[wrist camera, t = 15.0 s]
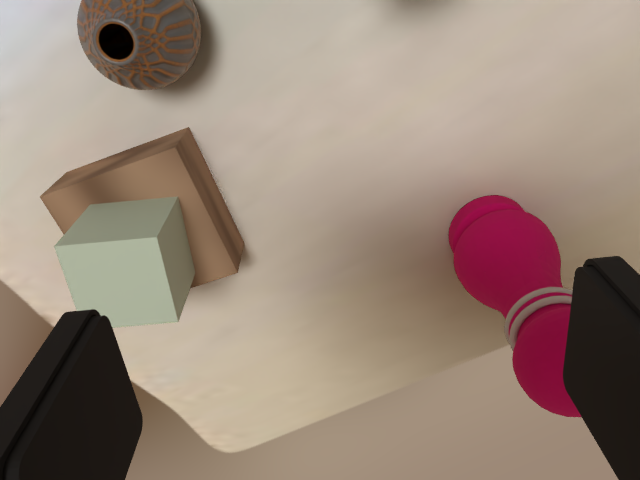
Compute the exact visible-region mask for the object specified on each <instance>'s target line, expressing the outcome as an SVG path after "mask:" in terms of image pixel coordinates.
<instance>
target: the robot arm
mask: <svg viewBox="0 0 640 480" xmlns="http://www.w3.org/2000/svg"><path fill="white" fill-rule="evenodd" d="M563 381H564V386H565V389H566V391H567V393H568V395H569V396H570V398H571V400H572V401H573V403H574V405H575V406H576V408H577V410H578V411H579V413H580V415H581V417H582V418H583V420H584V421H585V423H586V425H587V427H588V428H589V430H590V432H591V433H592V435H593V436H594V439H595V440H596V442H597V444H598V445H599V447H600V448H601V450H602V452H603V454H604V455H605V457H606V459H607V460H608V462H609V464H610V466H611V467H612V469H613V471H614V472H615V474H616V476H617V477H618V479H619V480H640V275H639V274H638V273H637V272H636V271H635V270H634V269H633V268H632V267H631V266H630V265H629V264H628V263H627V262H626V261H625V260H624V259H622V258H621V257H619V256H612V257H603V258H593V259H588V260H586V261H585V263H584V265H583V267H579V268H577V269H576V271H575V276H574V284H573V292H572V301H571V309H570V317H569V325H568V334H567V342H566V350H565V358H564V366H563ZM141 431H142V414H141V410H140V408H139V404H138V402H137V399H136V396H135V393H134V390H133V387H132V384H131V381H130V378H129V375H128V372H127V369H126V367H125V364H124V361H123V358H122V355H121V352H120V349H119V346H118V343H117V340H116V337H115V335H114V332H113V329H112V326H111V323H110V320H109V318H108V317H107V316H105V315H103V316H101V315H100V313H99V312H98V311H97V310H95V309H91V310H82V311H72V312H66V313H64V314H63V315H62V317H61V318H60V320H59V321H58V322H57V324H56V325H55V327H54V328H53V330H52V332H51V333H50V335H49V336H48V338H47V339H46V340H45V342H44V343H43V345H42V346H41V348H40V349H39V351H38V352H37V354H36V355H35V357H34V358H33V360H32V361H31V363H30V364H29V365H28V367H27V368H26V370H25V372H24V373H23V375H22V376H21V377H20V379H19V381H18V382H17V383H16V385H15V386H14V388H13V389H12V391H11V392H10V394H9V395H8V397H7V398H6V400H5V401H4V403H3V404H2V406H1V407H0V480H125V478H126V475H127V472H128V469H129V466H130V463H131V460H132V457H133V454H134V451H135V449H136V446H137V443H138V440H139V437H140V434H141Z"/></svg>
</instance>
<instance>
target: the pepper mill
mask: <svg viewBox="0 0 640 480" xmlns="http://www.w3.org/2000/svg"><path fill="white" fill-rule="evenodd" d="M449 244H450V246H451V249H452V251H453V253H454V267H455V271H456V274H457V276H458V279H459V280H460V282H461V283H462V285H463V286H464V288H465V289H466V290H467V291H468V292H469V293H470V294H471V295H472V296H473V297H474V298H475V299H477V300H478V301H480V302H481V303H483V304H484V305H486V306H489V307H491V308H493V309H495V310H498V311H500V312H501V313H502V314H503V316H504V317H505V319H506V320H505V326H504V331H505V335H506V338H507V341H508V342H509V344H510V345H511V348H512V350H513V368H514V372H515V374H516V377H517V379H518V382H519V384H520V385H521V387H522V388H523V390H524V391H525V392H526V394H527V395H528V396H529V397H530V398H531V399H532V400H533V401H534V402H536V403H537V404H538V405H539V406H541V407H542V408H544V409H546V410H548V411H550V412H552V413H555V414H559V415H562V416H566V417H581V415H580V413H579V411H578V410H577V408H576V406H575V405H574V403H573V401H572V400H571V398H570V396H569V395H568V393H567V391H566V389H565V386H564V381H563V366H564V358H565V350H566V342H567V334H568V325H569V317H570V309H571V301H572V292H573V291H572V290H570V289H567V288H563V286H562V284H561V276H560V267H561V260H560V254H559V250H558V246H557V243H556V241H555V239H554V237H553V235H552V233H551V232H550V230H549V229H548V227H547V226H546V225H545V224H544V223H543V222H542V221H541V220H540V219H538V218H537V217H535V216H533V215H532V214H530V213H527V212H525V211H524V210H523V209H522V208H521V206H520V205H519V204H518V203H516V202H515V201H513V200H512V199H509V198H507V197H503V196H498V195H491V196H484V197H480V198H477V199H475V200H473V201H471V202H469V203H468V204H466V205H465V206H464V207H463V208H461V209H460V210H459V212H458V213H457V214H456V215H455V217H454V219H453V220H452V222H451V225H450V228H449Z"/></svg>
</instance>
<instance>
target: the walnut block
mask: <svg viewBox="0 0 640 480" xmlns="http://www.w3.org/2000/svg"><path fill="white" fill-rule="evenodd" d="M167 197H178V198H179V203H180V207H181V212H182V216H183V220H184V225H185V229H186V234H187V238H188V243H189V247H190V251H191V256H192V260H193V265H194V269H195V275H194V278H193V281H192V284H191V287H190V288H192V287H195V286H198V285H202V284H205V283H208V282H211V281H214V280H217V279H220V278H223V277H226V276H229V275H232V274H235V273H238V269H239V264H240V260H241V255H242V251H243V246H244V242H243V239H242V237H241V235H240V233H239V231H238V229H237V227H236V225H235V223H234V221H233V219H232V216H231V214H230V212H229V210H228V208H227V206H226V204H225V202H224V200H223V198H222V195H221V193H220V191H219V189H218V187H217V185H216V183H215V181H214V179H213V177H212V175H211V172H210V170H209V168H208V166H207V164H206V162H205V160H204V158H203V156H202V154H201V152H200V149H199V147H198V145H197V143H196V141H195V139H194V137H193V135H192V133H191V131H190V128H189V127H188V128H185V129H183V130H180V131H177V132H174V133H172V134H169V135H166V136H164V137H161V138H158V139H155V140H153V141H150V142H147V143H145V144H142V145H139V146H137V147H134V148H131V149H128V150H126V151H123V152H120V153H118V154H115V155H112V156H109V157H107V158H104V159H101V160H99V161H96V162H93V163H91V164H88V165H85V166H82V167H80V168H77V169H74V170H72V171H69V172H66V173H65V174H64V175H63V176H62V177H61V178H60V179H59V180H58V181H57V182H55V183H54V184H53V185H52V186H51V187H50V188H49V189H48V190H47V191H46V192H44V193H43V194H42V195H41V196H40V198H41V200H42V201H43V203H44V204H45V206H46V207H47V209H48V210H49V212H50V213H51V215H52V217H53V218H54V220H55V221H56V223H57V224H58V226H59V227H60V229H61V231H62V232H63V234H65V233H66V232H67V231H68V230H69V229H70V227H71V226H72V225H73V224H74V223H75V222H76V220H77V219H78V218H79V217H80V216H81V215H82V213H83V212H84V211H85V210H86V209H87V208H88V206H89V205H91V204H102V203H113V202H124V201H135V200H145V199H156V198H167Z"/></svg>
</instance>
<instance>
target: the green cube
mask: <svg viewBox="0 0 640 480" xmlns="http://www.w3.org/2000/svg"><path fill="white" fill-rule="evenodd" d="M54 248H55V250H56V253H57V256H58V259H59V262H60V265H61V267H62V270H63V273H64V276H65V279H66V282H67V284H68V287H69V290H70V293H71V296H72V299H73V301H74V304H75V307H76V310H77V311H82V310H91V309H95V310H97V311H98V312H99V313H100V315H101V316H103V315H105V316H107V317H108V318H109V320H110V323H111V326H112V328H116V327H128V326H139V325H151V324H162V323H174V322H179V319H180V316H181V313H182V310H183V307H184V304H185V301H186V298H187V296H188V293H189V290H190V287H191V284H192V281H193V278H194V275H195V269H194V265H193V260H192V256H191V251H190V247H189V243H188V238H187V234H186V229H185V225H184V220H183V216H182V212H181V207H180V203H179V198H178V197H167V198H156V199H145V200H135V201H124V202H113V203H102V204H91V205H89V206H88V208H87V209H86V210H85V211H84V212H83V213H82V215H81V216H80V217H79V218H78V219H77V220H76V222H75V223H74V224H73V225H72V226H71V227H70V229H69V230H68V231H67V232H66V233H65V234H64V236H63V237H62V238H61V239H60V240H59V241H58V242H57V244H56V245H55V246H54Z"/></svg>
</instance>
